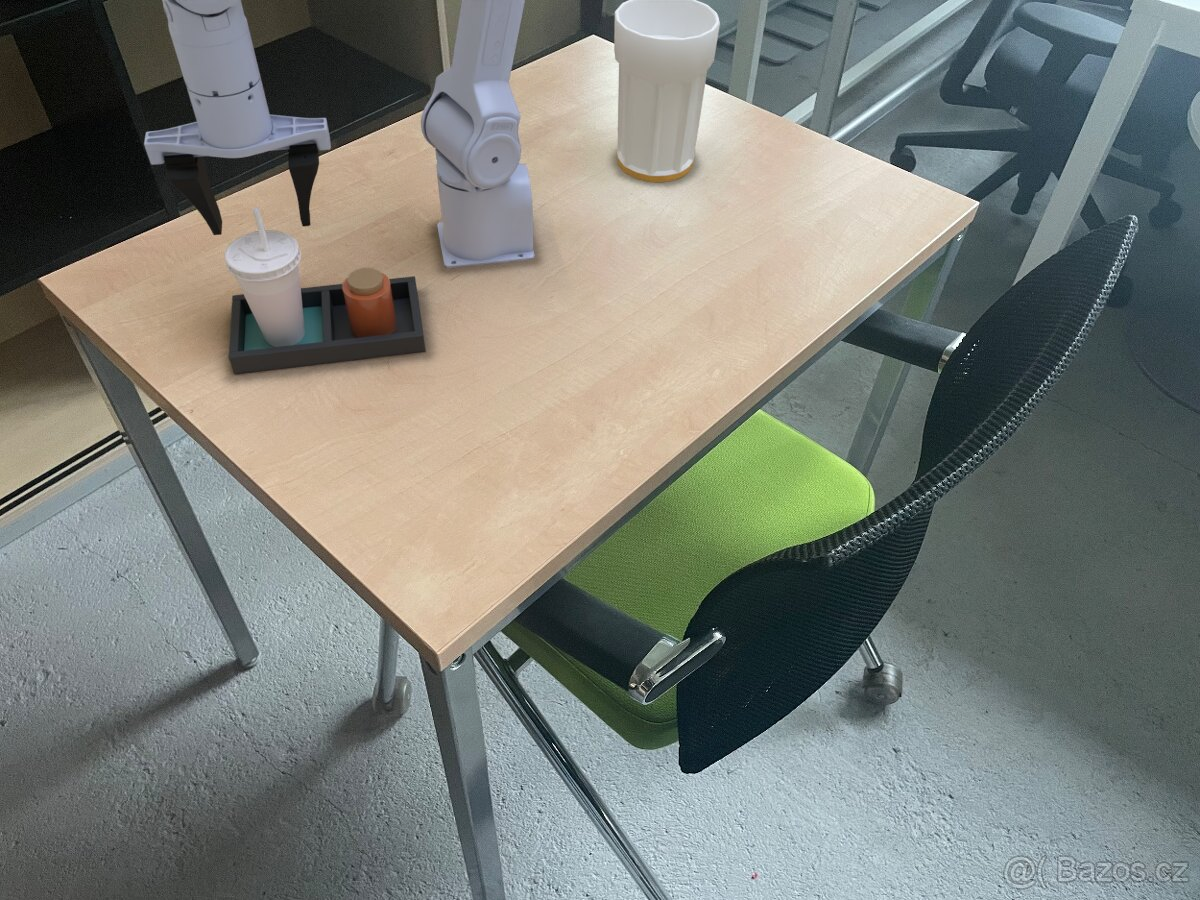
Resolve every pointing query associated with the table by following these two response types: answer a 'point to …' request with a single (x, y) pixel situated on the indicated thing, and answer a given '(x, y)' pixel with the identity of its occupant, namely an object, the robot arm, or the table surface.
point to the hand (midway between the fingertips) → (262, 224)
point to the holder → (325, 332)
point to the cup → (661, 83)
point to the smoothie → (270, 281)
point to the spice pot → (369, 303)
